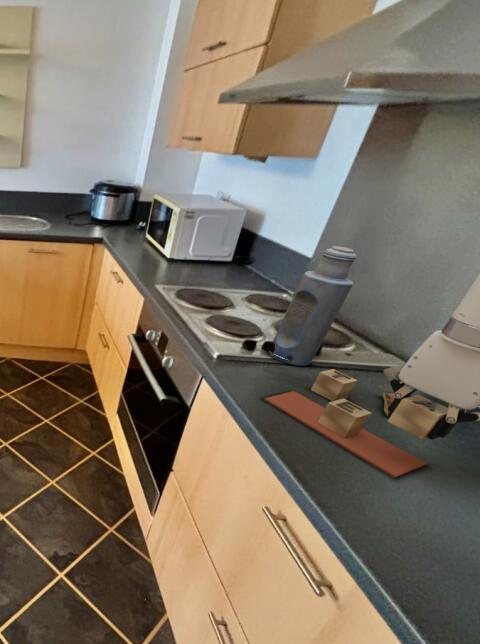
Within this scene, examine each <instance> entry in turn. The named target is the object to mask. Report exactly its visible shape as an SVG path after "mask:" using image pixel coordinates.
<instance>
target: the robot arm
mask: <svg viewBox="0 0 480 644" xmlns="http://www.w3.org/2000/svg"><path fill="white" fill-rule="evenodd" d="M382 373H383V374H384V376H385V377H386V379H387V380H388V381H389V385H390V387H391V388H392V391H393V394H394V397H395V399H394V400H393V402H392V403H391V405H390V406H389V408H388V411H390V413H389V414H388V416H387V415H386V418H388V419H389V418H390V417H391V415H392V414H393V412H394V411H395V409H396V408H397V406H398V405H399V403H400V402H401V400H402V399H404V398H408V397H411V396H412V395H413V394H414V393H415V392H417V391H420V392H422V393H424V394H425V395H428V396H430V397H433V398H435V399H438V400H440V401H442V402H444V403H447V404H448V407H447V408H448V411H447V415H446V416H445V417H444V418H443V419H440V420H439V421H438V422H437V424H436V425H435V426H434V428H433V429H432V430H431V432H430V433H429V434H428V436H427V437H428V438H427V439H429V440H431V441H432V440H433V441H434V440H436V439H438V438H443V439H444V438H446V437H447V436H448V435H449V434H450V432H451V431H452V430H453V429H454V427H455V426H456V425H457V424H459V423H469V422H480V411H472V410H475V409H476V408H478V407H480V273H479V274H478V275H477V277H476V278H475V280H474V281H473V283H472V285H471V286H470V287H469V289H468V290H467V292H466V293H465V295H464V297H463V298H462V299H461V301H460V303H459V304H458V305H457V307H456V308H455V310H454V311H453V313H452V314H451V316H450V317H449V318H448V320H447V322H446V323H445V325H444V326H443V327H442V329H439V330H436V331H434V332H433V333H432V334H431V335H429V337H427V339H425V340H424V342H422V344H421V345H420V346H419V347H418V348H417V349H416V350H415V352H414V353H413V354H412V355H411V356H410V358H409V359H408V360H407V361H406V362H405V363H402V364H401V363H400V364H398V365H395V366H391V367H389V368H388V367H387V368H384V369H383V372H382ZM467 411H471V412H467Z"/></svg>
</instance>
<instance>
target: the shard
mask: <svg viewBox="0 0 480 644" xmlns="http://www.w3.org/2000/svg"><path fill="white" fill-rule="evenodd" d="M382 399H383V400H384V404H383V405H384V406H383V411H384V413H385V415H386V417H387V416H388V414H389V413H390V411H388V408H389V406H390V405H391V403H392V402H393V400H394V399H395V397H394V393H388V392H382Z"/></svg>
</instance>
